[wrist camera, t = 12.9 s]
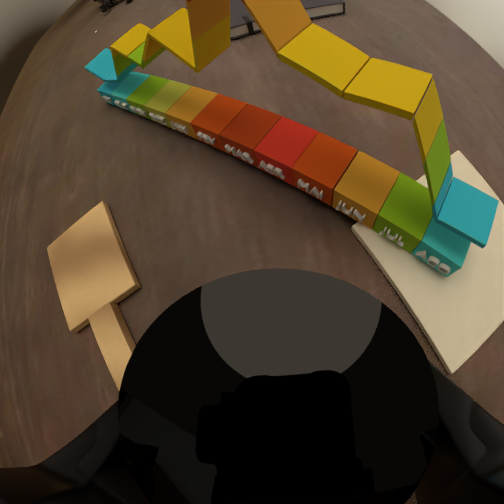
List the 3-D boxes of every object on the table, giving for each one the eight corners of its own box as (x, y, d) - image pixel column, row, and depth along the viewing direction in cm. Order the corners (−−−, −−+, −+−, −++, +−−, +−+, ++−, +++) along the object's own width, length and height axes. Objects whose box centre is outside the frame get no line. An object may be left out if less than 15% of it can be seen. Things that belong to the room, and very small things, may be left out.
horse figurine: (145, 22, 34) (139, -16, 36) (138, 4, 30) (134, -31, 32) (91, 44, 33) (94, 2, 35) (81, 28, 29) (87, -12, 31)
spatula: (280, 514, 12) (278, 522, 11) (196, 540, 12) (191, 547, 11) (108, 204, 20) (100, 198, 19) (53, 250, 20) (44, 246, 19)
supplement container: (335, 300, 16) (376, 220, 6) (374, 417, 13) (460, 501, 4) (214, 341, 16) (88, 320, 6) (251, 455, 14) (175, 567, 4)
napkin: (538, 269, 13) (543, 267, 13) (447, 373, 13) (452, 374, 13) (455, 154, 17) (458, 149, 16) (350, 229, 17) (351, 225, 16)
